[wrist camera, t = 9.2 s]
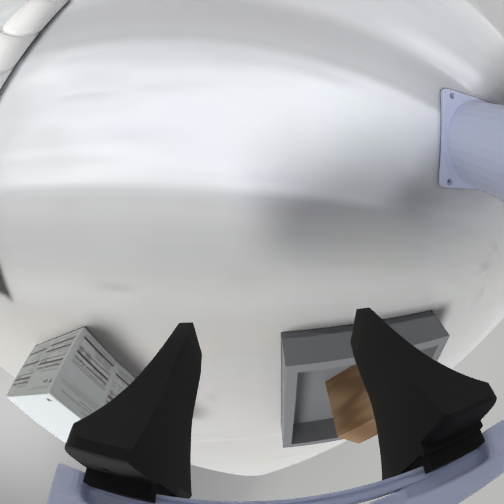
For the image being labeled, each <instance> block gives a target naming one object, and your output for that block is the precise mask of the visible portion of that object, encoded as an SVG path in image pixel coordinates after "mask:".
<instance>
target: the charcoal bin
mask: <svg viewBox="0 0 504 504" xmlns="http://www.w3.org/2000/svg"><path fill="white" fill-rule="evenodd" d="M383 321H385V322H386V323H387V324H388V325H389V326H390V327H391V328H392V329H394V330H395V331H396V332H397V333H398V334H399V335H401V336H402V337H403V338H404V339H405V340H407V341H408V342H409V343H410V344H412V345H413V346H414V347H416V348H417V349H418V350H420V351H421V352H423V353H424V354H426V355H427V356H429V357H430V358H432V359H433V360H435V361H437V360H438V358H439V356H440V354H441V352H442V350H443V348H444V346H445V344H446V342H447V340H448V338H449V336H450V335H449V334H448V332H447V331H446V330H445V328H444V327H443V325H442V324H441V323H440V321H439V320H438V318H437V317H436V316H435V314H434V313H433V312H432V310H431V311H426V312H422V313H417V314H412V315H406V316H401V317H396V318H390V319H384V320H383ZM353 326H354V324H353V325H346V326H338V327H330V328H322V329H313V330H304V331H294V332H283V333H281V429H282V440H283V448H285V447H295V446H303V445H311V444H318V443H324V442H330V441H335V440H341V439H343V438H340V437H337V432H336V428H335V423H334V419H333V414H332V410H331V405H330V401H329V397H328V393H327V388H326V384H325V381H327V380H329V379H330V378H332V377H334V376H335V375H337V374H339V373H340V372H342V371H343V370H345V369H347V368H348V367H350V366H351V365H355V364H356V362H355V359H354V355H353V351H352V347H351V343H350V340H351V336H352V331H353Z"/></svg>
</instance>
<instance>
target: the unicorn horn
mask: <svg viewBox="0 0 504 504" xmlns="http://www.w3.org/2000/svg"><path fill="white" fill-rule="evenodd" d="M68 1H69V0H28V1H27V2H26V3H25V4H24V5H23V6H22V7H21V8H20V9H19V10H18V11H17V12H16V13H15V14H14V15H13V16H12V17H11V18H10V19H9V20H8V21H7V22H6V23H5V24H4V25H3V27H4V29H3V30H2V31H1V32H0V89H1V87H2V86H3V84H4V82H5V81H6V79H7V77H8V76H9V74H10V73H11V71H12V70H13V68H14V67H15V64H16V63H17V62H18V61H19V59H20V58H21V56H22V55H23V54H24V52H25V51H26V49H27V48H28V47H29V45H30V44H31V43H32V41H33V40H34V39H35V38H36V36H37V35H38V34H39V33H40V31H41V30H42V29H43V28H44V27H45V26H46V24H47V23H48V22H49V21H50V20H51V19H52V18H53V16H54V15H55V14H56V13H57V12H58V11H59V10H60V9H61V8H62V7H63V6H64V5H65V4H66V3H67V2H68Z"/></svg>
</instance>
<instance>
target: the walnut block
mask: <svg viewBox="0 0 504 504" xmlns="http://www.w3.org/2000/svg"><path fill="white" fill-rule="evenodd" d="M325 384H326V388H327V393H328V397H329V401H330V405H331V410H332V414H333V419H334V423H335V428H336V432H337V437H340V438H343V439H346V440H350V441H352V442H356V443H361V442H363V441H365V440H367V439H369V438H371V437H373V436H375V435H377V434H378V433H377V428H376V422H375V418H374V413H373V409H372V405H371V402H370V399H369V396H368V393H367V391H366V388H365V385H364V383H363V380H362V378H361V375H360V372H359V370H358V367H357V365H356V364H355V365H351V366H350V367H348V368H347V369H345V370H343V371H342V372H340V373H339V374H337V375H335V376H334V377H332V378H330V379H329V380H327V381H325Z"/></svg>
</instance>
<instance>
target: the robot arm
mask: <svg viewBox="0 0 504 504" xmlns="http://www.w3.org/2000/svg"><path fill="white" fill-rule="evenodd" d="M450 94H451V96H452V97H450ZM448 179H449V182H448V183H447V181H448ZM439 185H440V186H442V187H444V188H463V189H477V190H482V191H484V192H486V193H488V194H490V195H492V196H494V197H496V198H498V199H499V200H501V201H503V202H504V105H499V104H492V103H489V102H486V101H484V100H481V99H478V98H475V97H472V96H469V95H466V94H463V93H460V92H457V91H454V90H450V89H446V88H444V89H442V90H441V154H440V169H439ZM350 343H351V347H352V351H353V355H354V359H355V362H356V365H357V367H358V370H359V372H360V375H361V378H362V380H363V383H364V385H365V388H366V391H367V393H368V396H369V399H370V402H371V405H372V409H373V413H374V418H375V422H376V428H377V433H378V439H379V446H380V454H381V464H382V481H379V482H375V483H372V484H368V485H364V486H361V487H357V488H352V489H348V490H344V491H339V492H334V493H329V494H323V495H317V496H311V497H303V498H296V499H286V500H274V501H273V500H272V501H248V502H247V501H246V502H245V501H244V502H238V501H236V502H235V501H234V502H233V501H232V502H231V501H208V500H196V499H189V498H190V497H191V496H192V494H191V474H190V451H191V428H192V417H193V411H194V406H195V400H196V395H197V390H198V385H199V379H200V374H201V359H202V353H201V350H200V346H199V343H198V339H197V335H196V332H195V328H194V325H193V323H179V324H178V325H177V327H176V328H175V330H174V331H173V333H172V334H171V335H170V337H169V338H168V340H167V341H166V342H165V344H164V345H163V347H162V348H161V349H160V350H159V352H158V353H157V354H156V356H155V357H154V358H153V360H152V361H151V362H150V363H149V364H148V365H147V367H146V368H145V369H144V370H143V371H142V372H141V373H140V375H139V376H138V377H137V378H136V379H135V380H134V381H133V382H132V383H131V384H130V385H129V386H128V387H126V388H125V389H124V390H123V391H122V392H121V393H120V394H118V395H117V396H116V397H115V398H113V399H112V400H111V401H110V402H108V403H107V404H105V405H104V406H103V407H101V408H100V409H98V410H96V411H95V412H93V413H92V414H90V415H88V416H86V417H84V418H83V419H81V420H79V421H77V422H75V423H74V424H73V426H72V428H71V431H70V433H69V436H68V439H67V442H66V445H65V450H66V452H67V453H68V454H69V455H70V456H71V457H73V458H74V459H75V460H77V461H78V462H80V463H81V464H82V465H84V466H85V467H86V468H87V469H86V473H84V472H82V471H80V470H78V469H75V468H72V467H70V466H67V465H65V464H62V463H58V466H57V469H56V473H55V476H54V479H53V483H52V486H51V490H50V494H49V497H48V501H47V504H358V503H361V502H365V501H369V500H372V499H376V498H379V497H382V496H385V495H389V494H391V495H389V496H386V497H384V498H381V499H378V500H375V501H373V502H371V503H370V504H458V503H460V502H461V501H463V500H464V499H466V498H468V497H469V496H471V495H472V494H474V493H475V492H477V491H478V490H480V489H481V488H483V487H484V486H485V485H487V484H488V483H490V482H491V481H493V480H494V479H495V478H497V477H498V476H499V475H501V474H502V473H503V472H504V421H503V420H501V421H500V422H498V423H497V424H495V425H494V426H492V427H490V428H489V429H487V430H486V431H485V432H483V433H481V431H480V429H481V428H482V426H483V425H482V423H481V421H480V420H481V419H482V418H483V417H484V416H485V415H486V414H487V413H488V412H489V410H490V409H491V408H492V407H493V405H494V404H495V402H496V399H497V398H496V395H495V394H494V392H493V390H492V389H491V387H490V385H489V383H487V382H483V381H480V380H476V379H474V378H470V377H468V376H465V375H463V374H461V373H458V372H456V371H454V370H452V369H450V368H448V367H446V366H444V365H442V364H440V363H439V362H437V361H435V360H433V359H432V358H430V357H429V356H427V355H426V354H424V353H423V352H421V351H420V350H418V349H417V348H416V347H414V346H413V345H412V344H410V343H409V342H408V341H407V340H405V339H404V338H403V337H402V336H401V335H399V334H398V333H397V332H396V331H395V330H394V329H392V328H391V327H390V326H389V325H388V324H387V323H386V322H385V321H383V320H382V319H381V318H380V317H379V316H378V315H377V314H376V313H375V312H374V311H372V310H371V309H370V308H363V309H357V311H356V316H355V321H354V326H353V331H352V336H351V340H350ZM394 492H395V493H394ZM392 493H394V494H392Z"/></svg>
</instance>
